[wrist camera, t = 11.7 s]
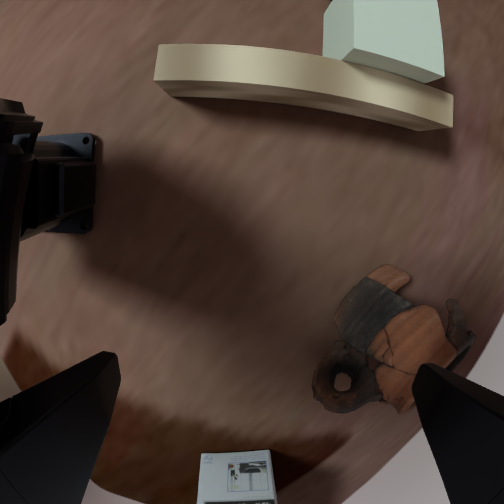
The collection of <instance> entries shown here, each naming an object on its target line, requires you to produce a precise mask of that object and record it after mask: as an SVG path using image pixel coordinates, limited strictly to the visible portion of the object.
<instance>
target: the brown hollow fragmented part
mask: <svg viewBox="0 0 504 504" xmlns="http://www.w3.org/2000/svg"><path fill="white" fill-rule="evenodd" d="M409 281H410V276H409V275H408V274H407V273H406V272H404V271H401V270H399V269H397V268H395V267H393V266H392V265H390V264H387V265H384V266H381V267H379V268H378V269H376V270H374V271H373V272H372V273H370V274H369V275H368V276H367V277H365V278H364V279H362V280H361V281H360V282H359V283H358V284H357V285H356V286H354V287H353V288H352V290H351V291H350V292H349V293H348V295H346V296H345V298H344V300H343V301H342V302H341V304H340V306H339V308H338V310H337V312H336V315H335V317H334V321H335V323H336V325H337V327H338V331H339V334H340V337H341V340H338V341H335V343H334V346H333V349H332V350H331V351H330V352H329V353H328V354H327V355H326V356H325V357H324V358H323V360H322V361H321V362H320V363H319V365H318V366H317V368H316V370H315V372H314V376H313V380H312V390H313V398H314V399H315V400H317V401H320V402H321V403H322V404H323V406H324V408H325V409H326V410H328V411H331V412H335V413H348V412H351V411H354V410H356V409H358V408H359V407H361V406H362V405H364V404H366V403H368V402H374V401H378V400H379V399H380V400H379V402H380V403H384V404H391V405H393V406H394V407H395V409H396V410H397V412H398V414H400V415H401V414H404V413H405V412H407V411H409V410H411V409H412V408H413V407H415V406H416V404H415V400H414V397H413V394H412V389H411V388H412V383H413V381H414V378H415V376H416V373H417V371H418V369H419V367H420V365H421V364H424V363H434V364H436V365H439V366H441V367H443V368H445V369H447V370H449V371H451V372H453V371H454V370H455V369H456V367H457V366H458V365H459V364H460V362H461V361H462V360H463V359H464V357H465V356H466V355H467V353H468V352H469V350H470V349H471V347H472V346H473V343H474V342H475V340H476V335H474V333H472V331H469V330H467V327H466V320H465V317H464V313H463V311H462V310H461V309H460V307H459V305H458V302H457V301H456V300H452V299H448V300H447V301H446V307H447V309H448V311H449V323H448V328H447V331H446V335H445V330H444V328H443V326H442V322H441V319H440V317H439V315H438V312H437V311H436V309H433V308H432V307H430V306H428V305H420V306H417V307H414V305H413V304H412V303H411V302H409V301H408V300H406V299H404V298H402V297H401V296H399V295H397V294H394V293H395V292H396V291H397V290H398V289H399V288H401V287H402V286H403V285H405V284H407V283H409ZM367 356H370V357H372V358H374V359H376V360H377V361H379V362H380V363H379V364H378V365H377V366H376V368H375V370H374V371H372V370H371V369H370V368H369V367H368V359H367V358H368V357H367ZM341 372H342V373H346V374H347V375H348V376H349V377H350V378H351V379H352V382H351V387H350V389H349V390H347V391H337V390H336V389H335V388H334V382H335V377H336V375H337V374H338V373H341Z"/></svg>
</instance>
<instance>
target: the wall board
mask: <svg viewBox="0 0 504 504" xmlns="http://www.w3.org/2000/svg"><path fill="white" fill-rule="evenodd" d="M153 81H155V82H156V83H157V84H158V85H159V86H160V87H161V88H162V89H163V90H164V91H165V92H166V93H168V94H169V95H170V96H171V97H209V98H227V99H241V100H253V101H263V102H272V103H281V104H289V105H296V106H303V107H310V108H316V109H322V110H328V111H333V112H339V113H344V114H349V115H354V116H359V117H363V118H368V119H372V120H376V121H381V122H385V123H389V124H393V125H397V126H400V127H404V128H408V129H411V130H415V131H425V130H434V129H443V128H453V95H451V94H449V93H446V92H444V91H441V90H439V89H436V88H433V87H431V86H428V85H425V84H422V83H420V82H417V81H414V80H411V79H408V78H405V77H402V76H399V75H395V74H392V73H389V72H385V71H382V70H378V69H375V68H371V67H367V66H363V65H359V64H355V63H351V62H347V61H342V60H338V59H333V58H328V57H323V56H318V55H312V54H306V53H300V52H294V51H287V50H279V49H271V48H262V47H251V46H238V45H219V44H165V45H159V49H158V55H157V61H156V67H155V73H154V80H153Z"/></svg>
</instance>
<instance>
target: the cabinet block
mask: <svg viewBox="0 0 504 504" xmlns="http://www.w3.org/2000/svg"><path fill="white" fill-rule="evenodd" d="M323 57H328V58H333V59H338V60H342V61H347V62H351V63H355V64H359V65H363V66H367V67H371V68H375V69H378V70H382V71H385V72H389V73H392V74H395V75H399V76H402V77H405V78H408V79H411V80H414V81H417V82H420V83H422V84H425V83H428V82H431V81H434V80H437V79H439V78H442V77H445V76H444V57H443V45H442V34H441V25H440V18H439V10H438V4H437V0H332V2H331V3H330V5H329V7H328V8H327V10H326V12H325V13H324V32H323Z"/></svg>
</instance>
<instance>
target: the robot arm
mask: <svg viewBox="0 0 504 504" xmlns="http://www.w3.org/2000/svg"><path fill="white" fill-rule="evenodd" d="M34 119H35V116H31V115H27V114H25V111H24V107H23V104H22V102H17V101H12V100H7V99H1V98H0V325H2V324H3V323H5V322H6V320H7V314H8V313H9V311H10V309H11V308H12V306H13V305H14V303H15V301H16V287H17V267H18V254H19V243H20V242H21V241H23V240H25V239H27V238H30V237H32V236H34V235H37V234H39V233H41V232H44V231H49V232H62V233H76V234H86V233H88V232H90V231H91V230H92V226H93V219H92V206H93V204H94V203H95V173H96V165H95V163H94V150H95V137H94V135H93V134H91V133H75V134H62V135H51V136H41V137H37V136H38V133H40V132H41V128H42V125H43V122H40V121H36V120H34ZM87 137H88V138H89V143H88V144H86V143H85V140H86V138H87ZM83 223H85V224H86V225H87V228H86V229H85V228H84V227H83ZM120 382H121V375H120V369H119V363H118V357H117V355H116V354H115V353H112V352H107V351H102V352H99V353H98V354H96V355H94V356H92V357H90V358H88V359H86V360H84V361H82V362H80V363H78V364H76V365H74V366H72V367H70V368H68V369H66V370H64V371H62V372H60V373H58V374H56V375H54V376H52V377H50V378H48V379H46V380H44V381H42V382H40V383H38V384H36V385H34V386H32V387H30V388H28V389H26V390H24V391H22V392H20V393H19V394H16V395H14V396H13V397H12V398H8V399H6V400H4V401H2V402H0V504H81V502H82V499H83V496H84V494H85V491H86V488H87V485H88V482H89V479H90V476H91V473H92V471H93V468H94V465H95V462H96V460H97V457H98V454H99V451H100V449H101V446H102V443H103V441H104V438H105V436H106V433H107V430H108V427H109V424H110V421H111V417H112V413H113V409H114V405H115V401H116V398H117V394H118V390H119V386H120ZM411 389H412V394H413V397H414V400H415V404H416V407H417V410H418V414H419V417H420V421H421V424H422V427H423V430H424V432H425V435H426V438H427V440H428V443H429V445H430V448H431V451H432V453H433V456H434V458H435V461H436V464H437V466H438V469H439V472H440V475H441V477H442V480H443V483H444V486H445V489H446V492H447V495H448V498H449V501H450V504H504V396H502V395H500V394H498V393H496V392H493V391H491V390H489V389H487V388H485V387H482V386H481V385H478V384H476V383H474V382H472V381H470V380H468V379H466V378H464V377H462V376H459V375H457V374H455V373H453V372H451V371H449V370H447V369H445V368H443V367H441V366H439V365H436V364H434V363H424V364H421V365H420V367H419V369H418V371H417V373H416V376H415V378H414V381H413V383H412V388H411Z"/></svg>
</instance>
